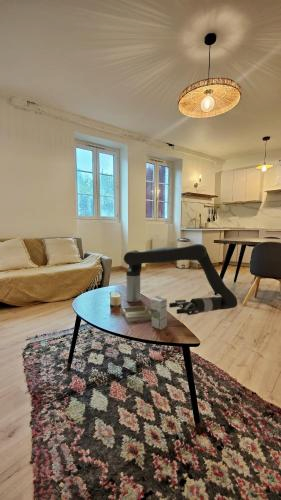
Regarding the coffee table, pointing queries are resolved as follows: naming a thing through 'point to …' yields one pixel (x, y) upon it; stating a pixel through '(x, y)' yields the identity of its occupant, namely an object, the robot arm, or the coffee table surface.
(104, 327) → the coffee table surface
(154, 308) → the syrup box
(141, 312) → the wooden tray
